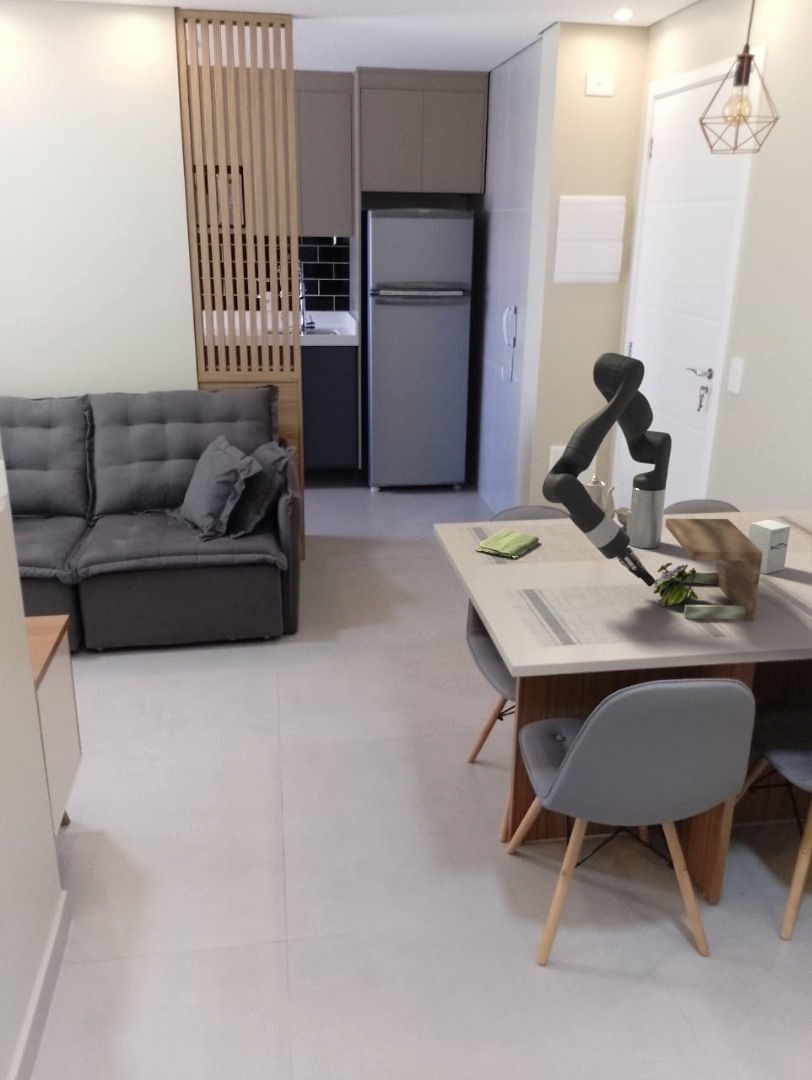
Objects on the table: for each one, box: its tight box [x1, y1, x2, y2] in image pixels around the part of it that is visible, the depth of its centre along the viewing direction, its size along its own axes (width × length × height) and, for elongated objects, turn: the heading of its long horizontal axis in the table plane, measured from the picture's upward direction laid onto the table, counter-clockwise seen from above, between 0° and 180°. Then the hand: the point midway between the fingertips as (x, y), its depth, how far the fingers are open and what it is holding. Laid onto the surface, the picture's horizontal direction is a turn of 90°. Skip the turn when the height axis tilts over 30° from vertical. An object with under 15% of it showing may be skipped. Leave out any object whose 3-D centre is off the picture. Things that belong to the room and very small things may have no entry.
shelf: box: [661, 518, 763, 622], centre depth 215 cm, size 16×25×17 cm, turn 178°
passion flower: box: [653, 562, 698, 608], centre depth 216 cm, size 11×11×12 cm
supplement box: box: [747, 519, 791, 575], centre depth 236 cm, size 7×7×13 cm
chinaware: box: [581, 474, 631, 529], centre depth 274 cm, size 28×17×17 cm, turn 46°
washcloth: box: [475, 528, 540, 558], centre depth 255 cm, size 13×18×3 cm
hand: (652, 583), depth 217 cm, fingers closed
